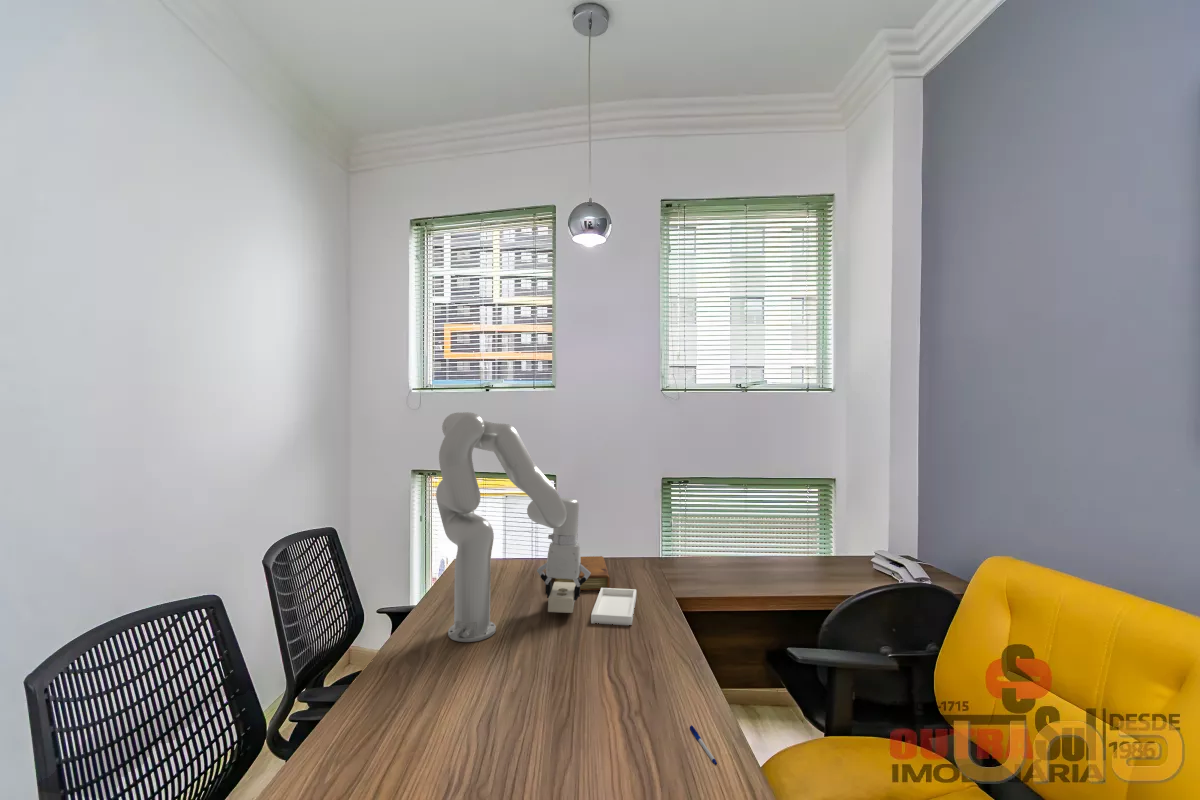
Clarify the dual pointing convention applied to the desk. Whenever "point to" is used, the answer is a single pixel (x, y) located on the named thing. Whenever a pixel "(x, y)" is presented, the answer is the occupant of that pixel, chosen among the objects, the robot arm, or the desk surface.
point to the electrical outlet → (562, 597)
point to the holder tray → (614, 606)
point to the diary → (593, 574)
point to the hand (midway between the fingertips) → (562, 597)
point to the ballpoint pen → (702, 744)
